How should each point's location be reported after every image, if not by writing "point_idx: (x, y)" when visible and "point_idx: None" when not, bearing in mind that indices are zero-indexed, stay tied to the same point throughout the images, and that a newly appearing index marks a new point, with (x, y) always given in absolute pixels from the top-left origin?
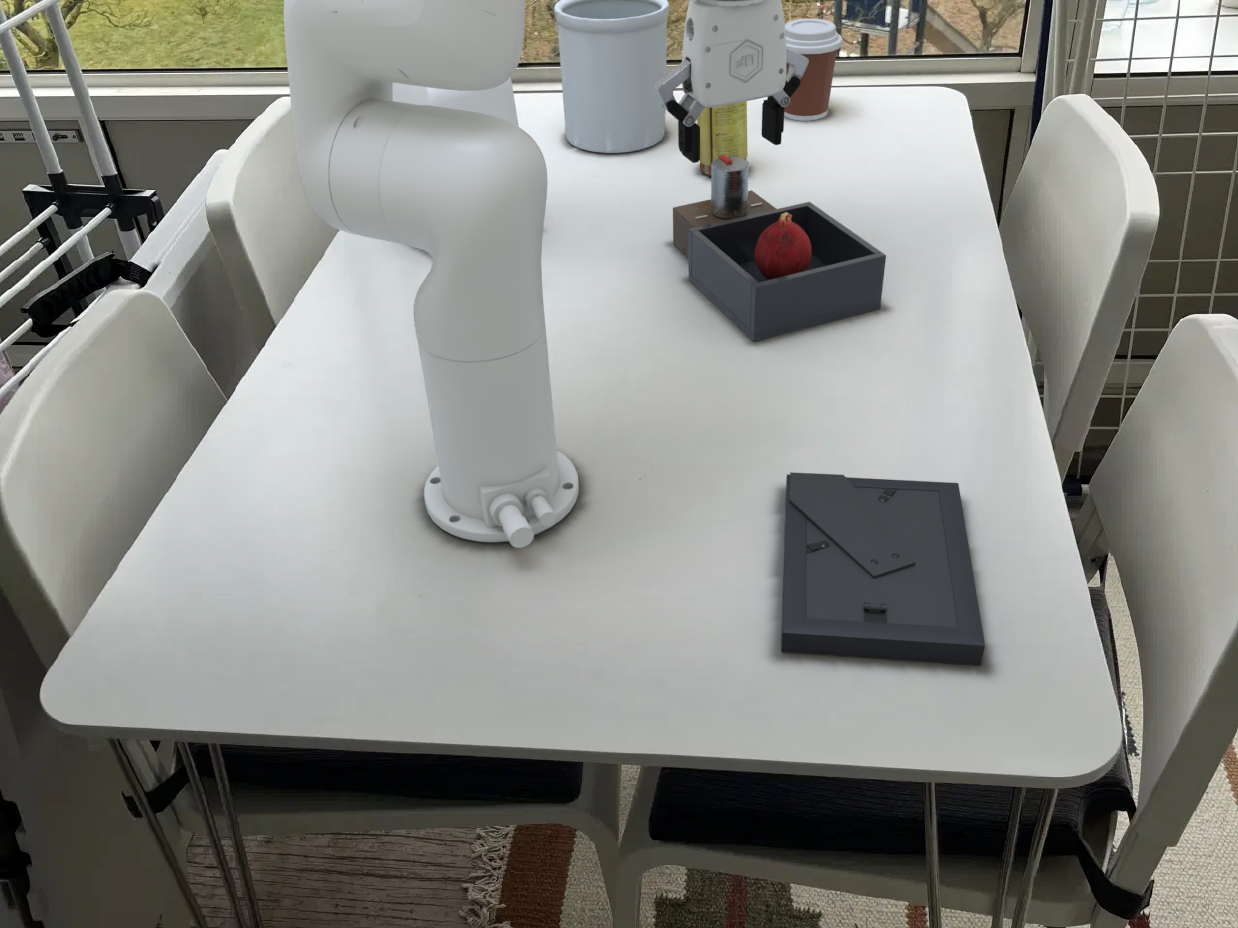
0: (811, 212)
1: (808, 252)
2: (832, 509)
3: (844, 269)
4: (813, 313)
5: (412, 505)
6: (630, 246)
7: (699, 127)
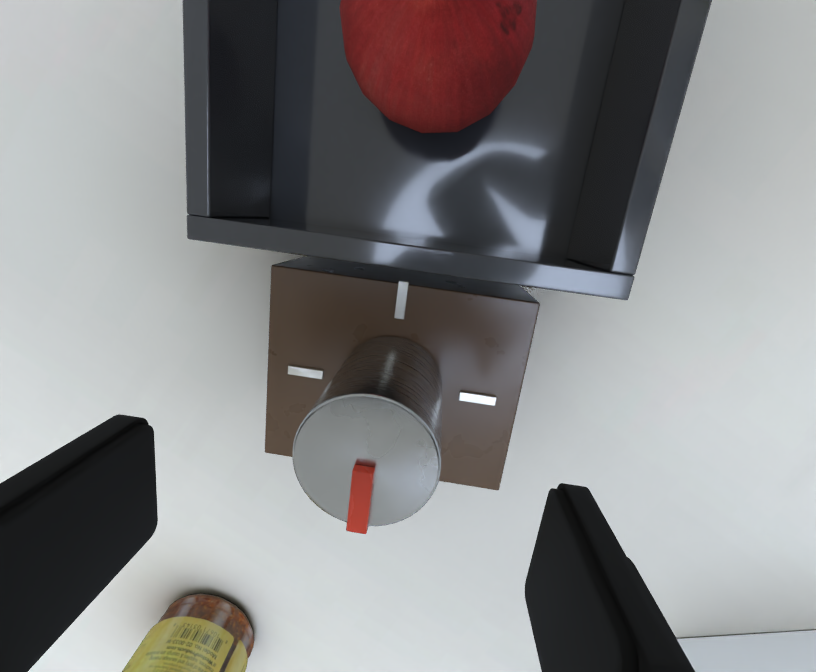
0: (215, 187)
1: None
2: None
3: None
4: None
5: None
6: (565, 481)
7: (623, 653)
